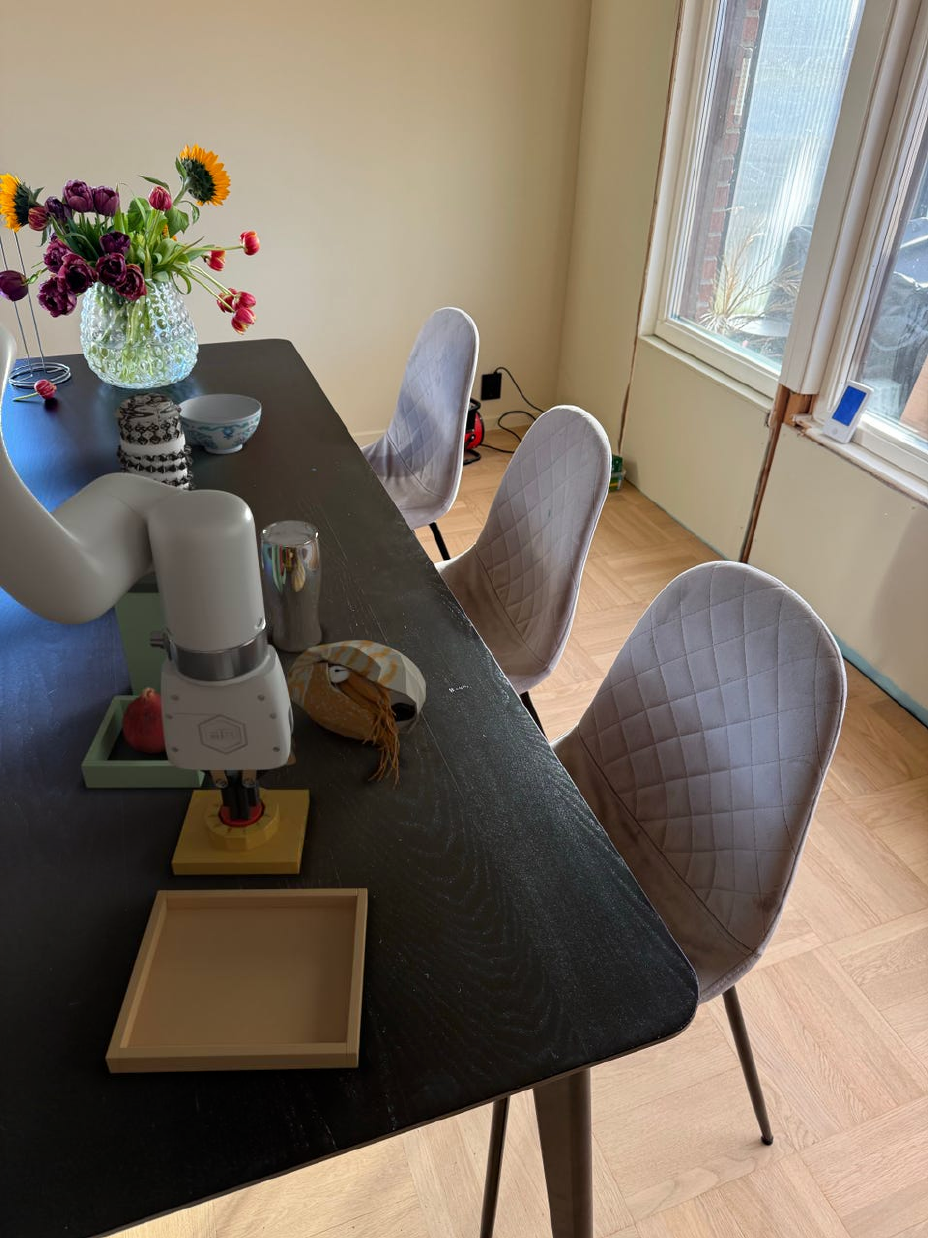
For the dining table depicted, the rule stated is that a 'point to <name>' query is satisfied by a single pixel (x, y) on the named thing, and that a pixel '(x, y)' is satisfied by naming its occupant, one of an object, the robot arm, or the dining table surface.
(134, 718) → the pomegranate
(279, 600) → the beer glass
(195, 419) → the chinaware
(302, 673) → the nautilus
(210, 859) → the button panel
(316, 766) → the dining table surface
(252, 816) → the button
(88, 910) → the dining table surface
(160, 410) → the decorative candle
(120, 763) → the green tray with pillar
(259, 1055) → the oak tray
